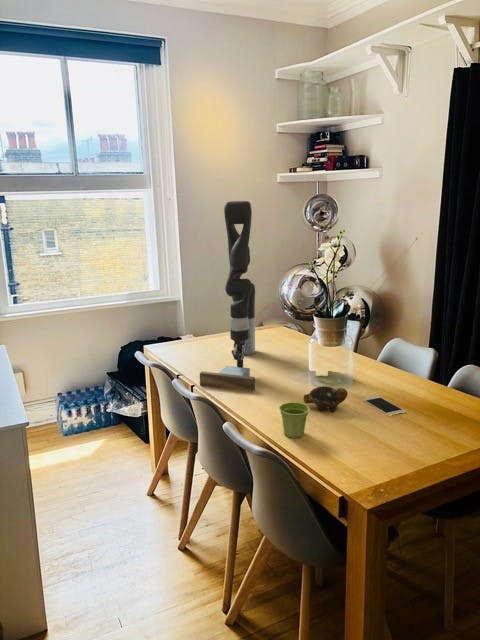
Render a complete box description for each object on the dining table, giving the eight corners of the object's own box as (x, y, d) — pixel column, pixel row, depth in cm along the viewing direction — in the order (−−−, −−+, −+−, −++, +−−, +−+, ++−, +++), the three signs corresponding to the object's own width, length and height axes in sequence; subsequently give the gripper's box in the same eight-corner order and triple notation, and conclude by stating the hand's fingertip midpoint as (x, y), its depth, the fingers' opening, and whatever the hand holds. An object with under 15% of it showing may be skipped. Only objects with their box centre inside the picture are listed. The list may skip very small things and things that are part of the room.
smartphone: (389, 417, 173) (389, 414, 173) (361, 401, 187) (362, 398, 187) (406, 413, 176) (406, 411, 175) (378, 398, 190) (378, 395, 189)
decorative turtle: (348, 414, 175) (347, 393, 172) (303, 415, 178) (301, 393, 175) (347, 402, 184) (347, 381, 182) (304, 402, 187) (303, 382, 185)
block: (227, 376, 216) (226, 365, 215) (249, 378, 212) (249, 368, 211) (216, 384, 206) (216, 374, 205) (240, 387, 202) (240, 376, 201)
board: (202, 383, 207) (202, 371, 205) (254, 389, 199) (254, 377, 198) (200, 385, 204) (199, 373, 203) (252, 391, 197) (252, 379, 196)
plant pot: (310, 428, 165) (311, 403, 163) (307, 442, 156) (308, 415, 154) (281, 426, 167) (281, 401, 165) (276, 439, 158) (276, 412, 156)
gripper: (236, 323, 217) (237, 362, 222) (224, 331, 205) (225, 372, 209) (253, 324, 215) (253, 364, 219) (242, 332, 203) (243, 374, 207)
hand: (240, 368), depth 214 cm, fingers closed
